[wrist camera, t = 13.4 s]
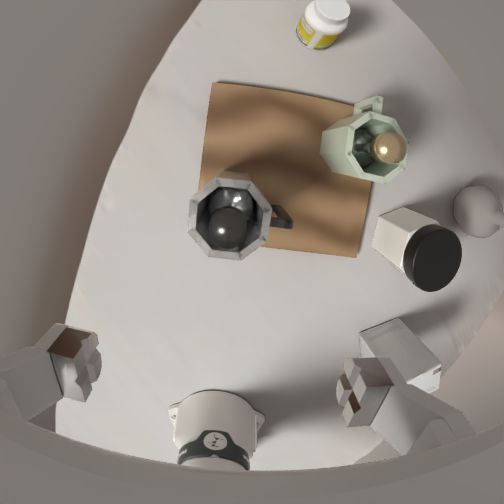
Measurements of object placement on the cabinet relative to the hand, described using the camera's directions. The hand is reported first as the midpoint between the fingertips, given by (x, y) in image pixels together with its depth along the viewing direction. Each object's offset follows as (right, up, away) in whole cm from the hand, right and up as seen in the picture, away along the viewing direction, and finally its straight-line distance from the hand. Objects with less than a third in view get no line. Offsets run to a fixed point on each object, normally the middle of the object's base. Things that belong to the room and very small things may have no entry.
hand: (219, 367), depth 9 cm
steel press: (0, +10, +30) cm, 32 cm away
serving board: (+6, +14, +30) cm, 34 cm away
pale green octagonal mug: (+14, +19, +28) cm, 36 cm away
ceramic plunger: (+14, +16, +25) cm, 33 cm away
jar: (+23, +6, +34) cm, 41 cm away
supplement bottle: (+10, +34, +24) cm, 43 cm away
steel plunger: (-1, +9, +25) cm, 26 cm away
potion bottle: (+38, +11, +33) cm, 51 cm away
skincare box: (+24, -11, +40) cm, 47 cm away
